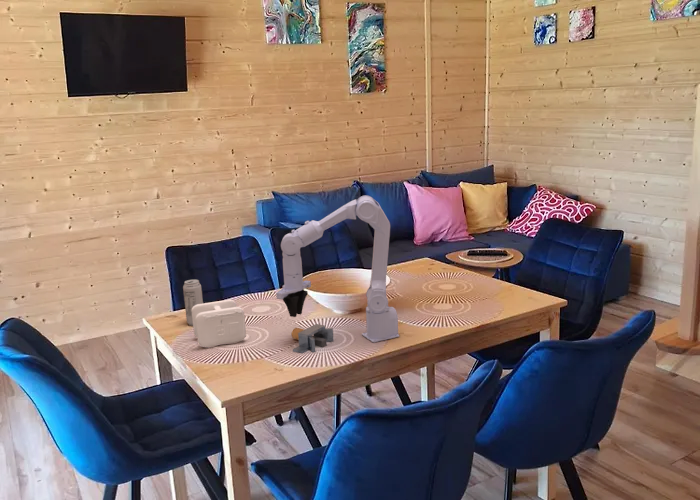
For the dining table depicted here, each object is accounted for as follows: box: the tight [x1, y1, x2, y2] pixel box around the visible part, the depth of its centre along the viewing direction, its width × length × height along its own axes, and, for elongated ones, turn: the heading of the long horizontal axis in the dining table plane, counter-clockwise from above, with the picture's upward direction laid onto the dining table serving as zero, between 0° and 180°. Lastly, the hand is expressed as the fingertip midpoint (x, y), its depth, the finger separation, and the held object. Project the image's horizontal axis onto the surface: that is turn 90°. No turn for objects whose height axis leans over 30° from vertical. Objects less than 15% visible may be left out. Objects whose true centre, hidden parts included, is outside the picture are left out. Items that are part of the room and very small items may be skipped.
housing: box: [292, 323, 335, 354], centre depth 199 cm, size 6×15×5 cm, turn 146°
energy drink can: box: [182, 279, 204, 327], centre depth 222 cm, size 6×6×15 cm
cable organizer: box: [191, 299, 247, 349], centre depth 205 cm, size 15×11×12 cm
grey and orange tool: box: [290, 327, 328, 348], centre depth 202 cm, size 13×4×4 cm, turn 51°
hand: (295, 315), depth 202 cm, fingers closed
